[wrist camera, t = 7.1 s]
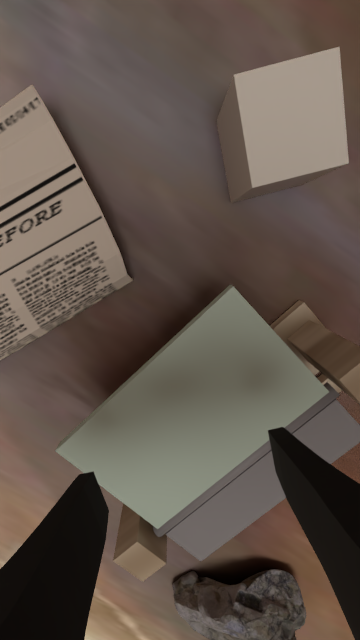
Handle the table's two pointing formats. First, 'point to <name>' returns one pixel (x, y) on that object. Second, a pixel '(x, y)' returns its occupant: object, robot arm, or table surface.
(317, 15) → the table surface
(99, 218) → the newspaper
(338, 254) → the table surface
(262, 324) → the trapdoor
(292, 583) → the grey rock
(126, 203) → the table surface
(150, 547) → the frame
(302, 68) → the off-white cube
